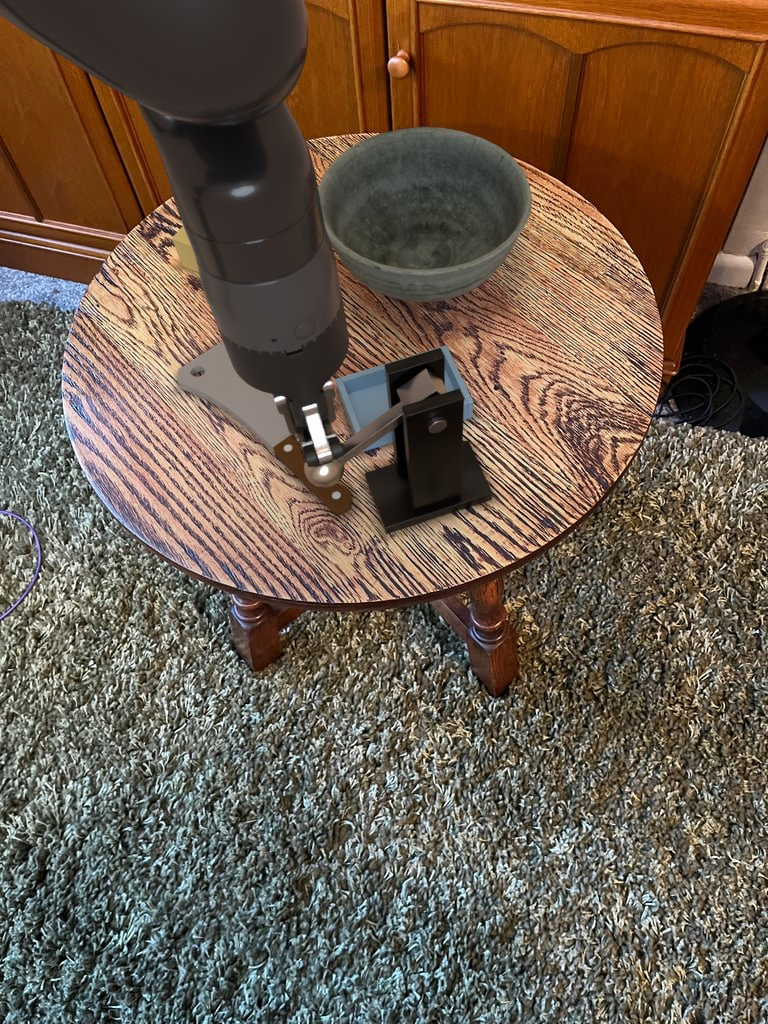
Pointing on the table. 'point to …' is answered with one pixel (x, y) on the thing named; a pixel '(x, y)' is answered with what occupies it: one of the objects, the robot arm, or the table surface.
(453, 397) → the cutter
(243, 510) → the table surface
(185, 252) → the butter pat
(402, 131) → the bowl
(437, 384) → the cutter lever
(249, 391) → the kitchen cleaver
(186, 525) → the table surface
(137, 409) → the table surface
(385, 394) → the butter dish
